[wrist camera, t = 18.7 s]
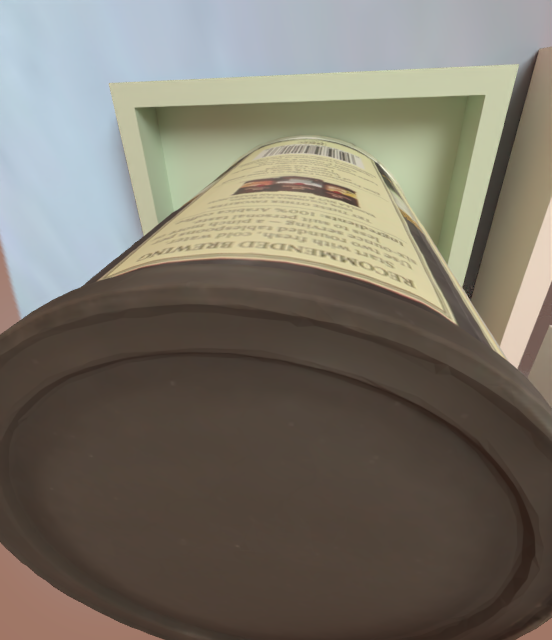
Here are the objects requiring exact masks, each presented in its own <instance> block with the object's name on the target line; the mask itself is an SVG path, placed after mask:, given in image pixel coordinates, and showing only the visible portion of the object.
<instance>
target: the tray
mask: <svg viewBox="0 0 552 640" xmlns="http://www.w3.org/2000/svg"><path fill="white" fill-rule="evenodd" d="M518 67H519V64H516V65H494V66H473V67H451V68H429V69H408V70H386V71H364V72H342V73H321V74H299V75H277V76H255V77H234V78H212V79H190V80H168V81H147V82H125V83H109V87H110V91H111V95H112V100H113V104H114V108H115V113H116V117H117V121H118V126H119V130H120V135H121V139H122V143H123V148H124V152H125V156H126V161H127V165H128V169H129V174H130V178H131V183H132V187H133V191H134V196H135V200H136V204H137V209H138V213H139V217H140V222H141V226H142V230H143V235H144V236H145V235H146V234H147V233H148V232H150V231H151V230H152V229H153V228H154V227H155V226H157V225H158V224H159V223H160V222H162V221H163V220H164V219H165V218H166V217H168V216H169V215H170V214H171V213H172V212H174V211H176V210H178V209H179V208H180V207H182V206H183V205H184V204H185V203H187V202H188V201H189V200H190V199H192V198H193V197H194V196H195V195H197V194H198V193H199V192H200V191H201V190H203V189H204V188H205V187H207V186H208V185H209V184H210V183H212V182H213V181H214V180H215V179H216V178H218V177H219V176H220V175H221V174H222V173H224V172H225V171H226V170H227V169H228V168H229V167H230V166H231V165H232V164H233V163H234V162H235V161H236V160H237V159H238V158H240V157H241V156H242V155H244V154H245V153H247V152H248V151H250V150H251V149H253V148H255V147H256V146H258V145H261V144H264V143H266V142H268V141H272V140H275V139H278V138H283V137H288V136H295V135H320V136H327V137H332V138H336V139H340V140H343V141H346V142H349V143H353V144H354V145H356V146H357V147H360V148H362V149H363V150H365V151H367V152H368V153H370V154H371V155H372V156H374V157H375V158H376V159H377V160H379V161H380V162H381V163H382V164H383V165H384V166H385V167H386V168H387V169H388V170H389V171H390V172H391V173H392V175H393V176H394V177H395V179H396V180H397V182H398V183H399V185H400V186H401V188H402V190H403V191H404V194H405V197H406V199H407V201H408V203H409V205H410V207H411V208H412V210H413V211H414V213H415V215H416V216H417V218H418V219H419V221H420V222H421V224H422V225H423V227H424V228H425V230H426V231H427V233H428V234H429V236H430V238H431V239H432V241H433V243H434V244H435V246H436V247H437V249H438V250H439V252H440V254H441V255H442V257H443V259H444V260H445V262H446V264H447V265H448V267H449V268H450V270H451V271H452V273H453V275H454V276H455V278H456V279H457V281H458V282H459V284H460V285H461V287H463V283H464V279H465V275H466V271H467V267H468V263H469V259H470V255H471V251H472V247H473V244H474V240H475V236H476V232H477V228H478V224H479V220H480V216H481V212H482V208H483V204H484V200H485V196H486V192H487V189H488V185H489V181H490V177H491V173H492V169H493V165H494V161H495V157H496V153H497V149H498V145H499V141H500V138H501V134H502V130H503V126H504V122H505V118H506V114H507V110H508V106H509V102H510V98H511V94H512V90H513V86H514V83H515V79H516V75H517V71H518Z"/></svg>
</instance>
